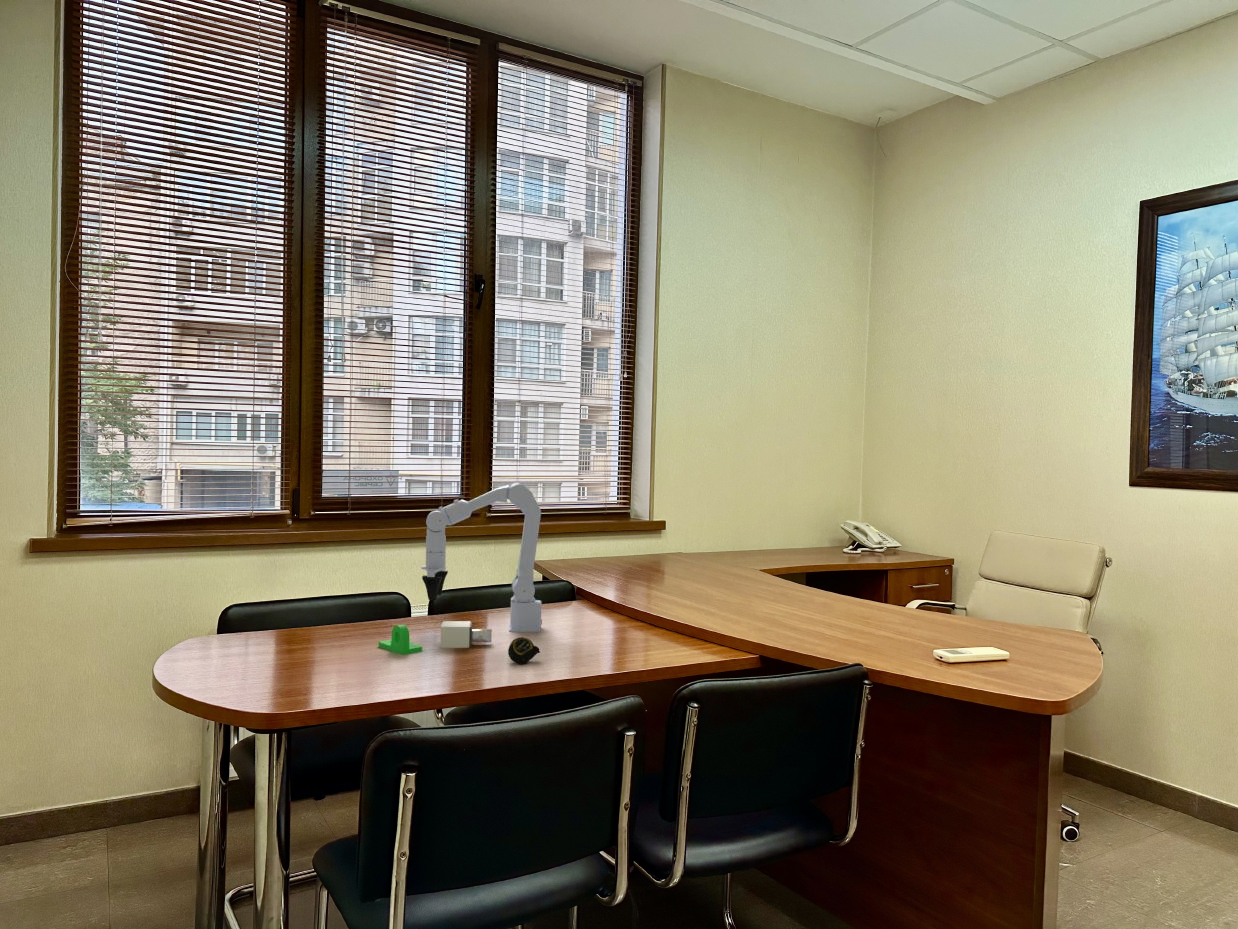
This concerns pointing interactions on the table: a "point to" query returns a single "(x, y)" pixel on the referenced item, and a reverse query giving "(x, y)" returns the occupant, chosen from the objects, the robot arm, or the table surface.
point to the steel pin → (481, 635)
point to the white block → (456, 634)
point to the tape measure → (522, 650)
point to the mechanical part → (400, 641)
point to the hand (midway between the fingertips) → (434, 597)
